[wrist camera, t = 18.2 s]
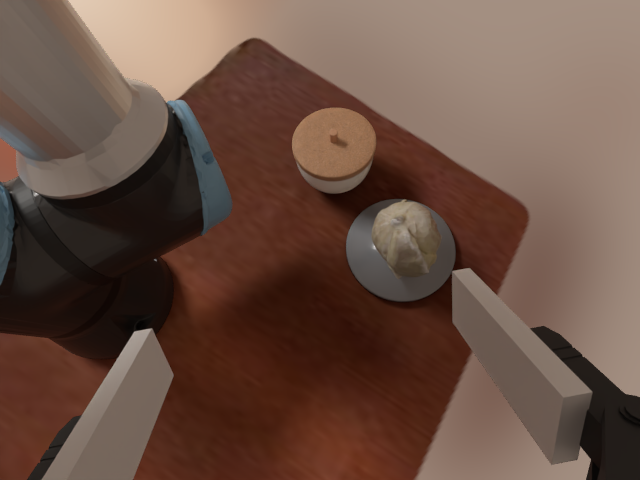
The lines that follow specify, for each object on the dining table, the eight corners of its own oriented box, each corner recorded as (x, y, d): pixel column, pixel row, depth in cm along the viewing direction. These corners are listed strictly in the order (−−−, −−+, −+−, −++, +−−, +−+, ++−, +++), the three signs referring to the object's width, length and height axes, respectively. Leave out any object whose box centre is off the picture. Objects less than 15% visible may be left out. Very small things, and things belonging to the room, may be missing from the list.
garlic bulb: (412, 285, 45) (435, 297, 36) (354, 258, 46) (359, 263, 36) (442, 219, 45) (473, 213, 35) (383, 193, 46) (397, 180, 36)
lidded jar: (387, 171, 50) (396, 129, 42) (335, 220, 48) (333, 186, 39) (334, 131, 54) (333, 84, 45) (284, 174, 51) (272, 134, 43)
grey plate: (357, 311, 44) (357, 309, 42) (337, 212, 49) (337, 208, 47) (467, 291, 44) (470, 289, 42) (435, 195, 49) (437, 190, 47)
